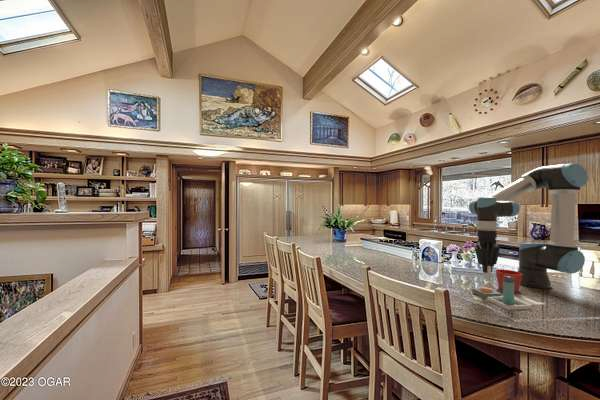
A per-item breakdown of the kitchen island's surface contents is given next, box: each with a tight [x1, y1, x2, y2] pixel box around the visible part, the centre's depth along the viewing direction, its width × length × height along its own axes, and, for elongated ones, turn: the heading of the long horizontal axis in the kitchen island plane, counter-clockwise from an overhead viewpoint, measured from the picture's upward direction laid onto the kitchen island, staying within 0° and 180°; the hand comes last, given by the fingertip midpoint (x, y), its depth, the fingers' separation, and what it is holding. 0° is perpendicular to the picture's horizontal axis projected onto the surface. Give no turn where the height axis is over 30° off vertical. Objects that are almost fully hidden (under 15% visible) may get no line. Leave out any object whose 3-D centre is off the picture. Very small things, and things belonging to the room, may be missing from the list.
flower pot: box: [495, 268, 522, 293], centre depth 138 cm, size 11×11×10 cm
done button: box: [480, 286, 493, 293], centre depth 128 cm, size 4×4×4 cm
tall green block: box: [502, 276, 515, 305], centre depth 117 cm, size 4×4×12 cm
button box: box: [471, 287, 502, 300], centre depth 128 cm, size 8×8×3 cm
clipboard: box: [501, 293, 546, 306], centre depth 124 cm, size 12×14×1 cm
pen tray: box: [486, 295, 533, 311], centre depth 117 cm, size 11×11×2 cm
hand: (487, 279), depth 128 cm, fingers closed
